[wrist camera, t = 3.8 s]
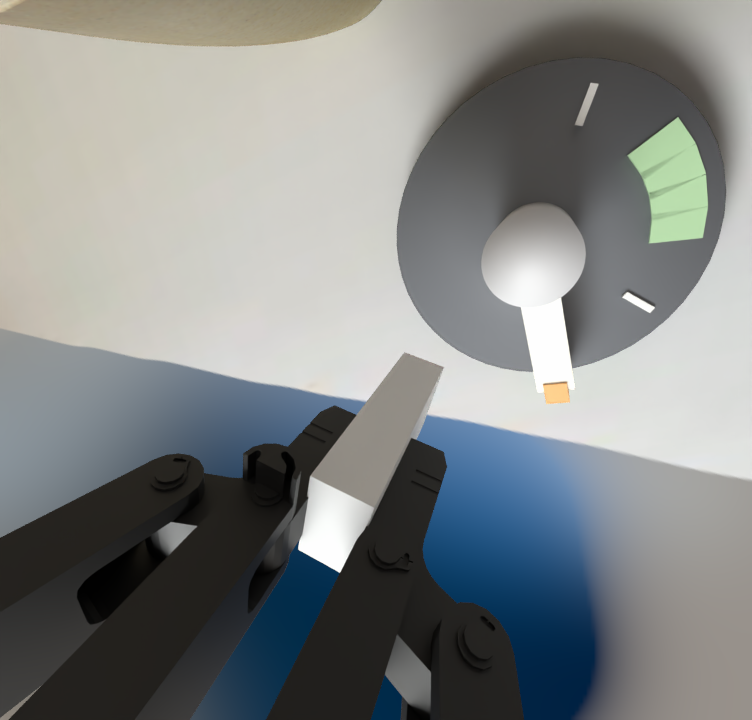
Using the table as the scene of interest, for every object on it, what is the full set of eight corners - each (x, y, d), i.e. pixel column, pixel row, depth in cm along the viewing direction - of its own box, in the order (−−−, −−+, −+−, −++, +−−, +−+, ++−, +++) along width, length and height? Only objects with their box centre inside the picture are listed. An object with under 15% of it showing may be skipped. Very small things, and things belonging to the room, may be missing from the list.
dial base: (793, 94, 14) (829, 82, 12) (610, 389, 21) (616, 409, 19) (442, 51, 17) (430, 37, 16) (388, 316, 24) (376, 327, 23)
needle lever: (486, 216, 17) (472, 227, 14) (570, 190, 16) (578, 195, 12) (520, 378, 20) (515, 423, 17) (594, 371, 19) (607, 418, 15)
